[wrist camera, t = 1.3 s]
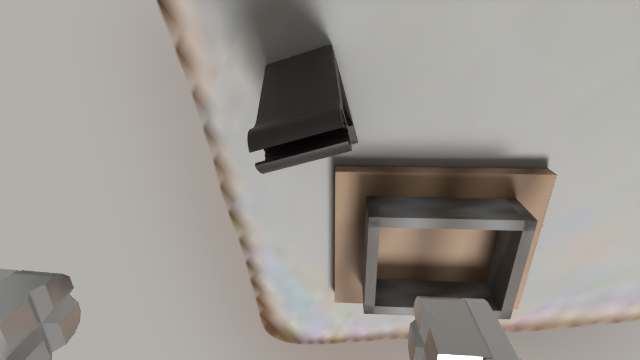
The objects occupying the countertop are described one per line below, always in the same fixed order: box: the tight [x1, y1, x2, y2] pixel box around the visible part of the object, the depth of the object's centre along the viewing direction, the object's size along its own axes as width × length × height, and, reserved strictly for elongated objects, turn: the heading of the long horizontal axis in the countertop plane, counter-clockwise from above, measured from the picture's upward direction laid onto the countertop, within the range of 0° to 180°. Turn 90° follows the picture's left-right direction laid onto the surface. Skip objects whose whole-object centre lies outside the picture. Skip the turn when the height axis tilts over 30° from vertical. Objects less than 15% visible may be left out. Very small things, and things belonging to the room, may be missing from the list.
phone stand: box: [248, 45, 358, 174], centre depth 26 cm, size 9×6×12 cm, turn 16°
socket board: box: [335, 166, 557, 319], centre depth 34 cm, size 20×16×6 cm
